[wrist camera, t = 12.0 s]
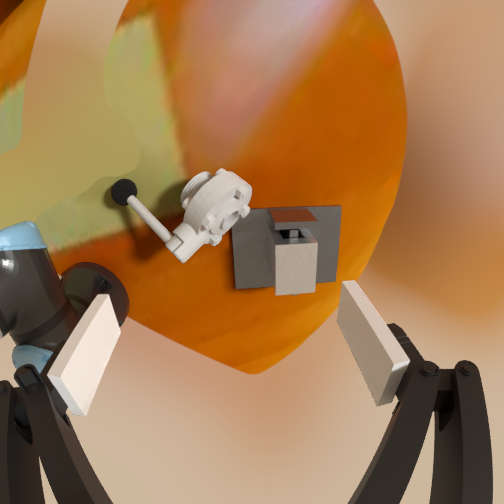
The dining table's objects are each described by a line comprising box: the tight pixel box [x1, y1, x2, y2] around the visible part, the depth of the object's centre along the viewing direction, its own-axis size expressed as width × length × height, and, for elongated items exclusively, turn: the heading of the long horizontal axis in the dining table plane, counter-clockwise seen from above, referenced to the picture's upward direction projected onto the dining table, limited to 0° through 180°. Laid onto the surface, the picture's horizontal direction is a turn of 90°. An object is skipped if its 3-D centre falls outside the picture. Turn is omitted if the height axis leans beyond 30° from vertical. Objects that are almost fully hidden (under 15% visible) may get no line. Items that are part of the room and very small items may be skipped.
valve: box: [111, 168, 252, 263], centre depth 41 cm, size 10×18×15 cm
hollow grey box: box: [269, 227, 318, 296], centre depth 45 cm, size 6×8×8 cm
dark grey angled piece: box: [232, 205, 341, 289], centre depth 45 cm, size 18×14×8 cm
